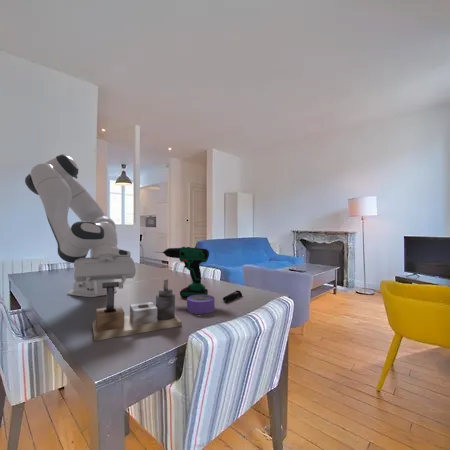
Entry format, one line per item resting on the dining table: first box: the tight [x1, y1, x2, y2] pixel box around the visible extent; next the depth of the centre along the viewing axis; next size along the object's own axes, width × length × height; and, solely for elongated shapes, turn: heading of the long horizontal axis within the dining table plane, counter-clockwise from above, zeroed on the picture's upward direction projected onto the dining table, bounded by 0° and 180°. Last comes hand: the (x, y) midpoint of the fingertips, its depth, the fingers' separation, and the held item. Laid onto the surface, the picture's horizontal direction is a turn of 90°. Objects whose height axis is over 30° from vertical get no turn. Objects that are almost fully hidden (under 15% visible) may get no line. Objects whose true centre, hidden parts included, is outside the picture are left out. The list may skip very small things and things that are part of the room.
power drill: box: [156, 246, 210, 299], centre depth 131 cm, size 6×29×25 cm, turn 79°
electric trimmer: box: [222, 289, 243, 302], centre depth 129 cm, size 4×16×3 cm, turn 149°
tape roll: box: [186, 294, 216, 315], centre depth 112 cm, size 12×12×5 cm
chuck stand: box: [92, 278, 183, 342], centre depth 93 cm, size 28×14×16 cm, turn 119°
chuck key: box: [102, 281, 120, 313], centre depth 89 cm, size 5×3×13 cm, turn 118°
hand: (106, 288), depth 91 cm, fingers open, 8 cm apart
